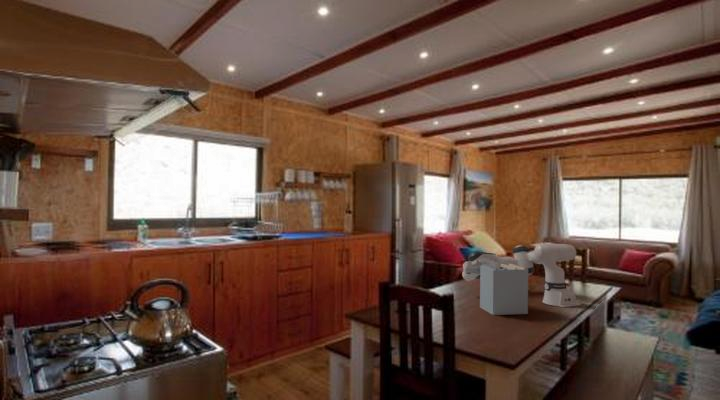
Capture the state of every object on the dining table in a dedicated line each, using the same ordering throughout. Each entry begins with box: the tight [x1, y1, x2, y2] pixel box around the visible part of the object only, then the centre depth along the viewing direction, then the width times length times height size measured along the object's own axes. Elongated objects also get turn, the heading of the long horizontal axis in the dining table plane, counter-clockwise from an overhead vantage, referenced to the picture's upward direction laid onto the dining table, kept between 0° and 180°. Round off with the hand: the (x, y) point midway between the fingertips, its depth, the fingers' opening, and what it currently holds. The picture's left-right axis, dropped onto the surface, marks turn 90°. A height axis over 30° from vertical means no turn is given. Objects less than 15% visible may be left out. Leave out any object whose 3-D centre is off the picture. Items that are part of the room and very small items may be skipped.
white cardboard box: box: [479, 264, 529, 316], centre depth 227 cm, size 22×16×27 cm
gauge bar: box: [480, 259, 500, 269], centre depth 232 cm, size 3×20×3 cm, turn 9°
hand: (484, 261), depth 238 cm, fingers open, 8 cm apart
